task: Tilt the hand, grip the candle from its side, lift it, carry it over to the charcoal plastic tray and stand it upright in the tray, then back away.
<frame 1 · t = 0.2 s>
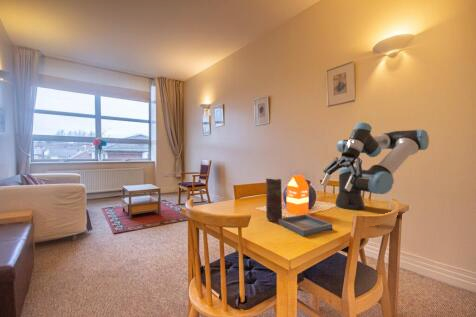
hand: (334, 187, 106), 16 cm above the table, tool tilted 35°, fingers open, 13 cm apart
orange juice: (297, 213, 119), on the table
candle: (273, 220, 108), on the table
tray: (304, 226, 98), on the table
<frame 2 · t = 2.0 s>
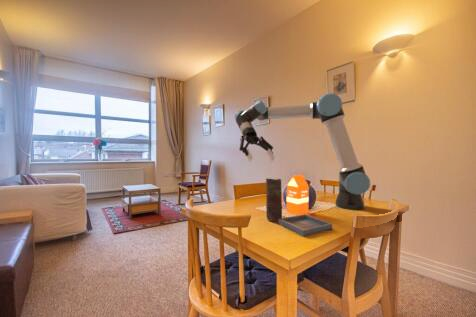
hand: (262, 159, 116), 28 cm above the table, tool tilted 45°, fingers open, 13 cm apart
nothing on the table moved.
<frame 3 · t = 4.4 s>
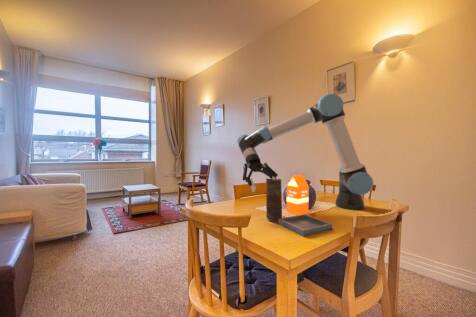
hand: (266, 189, 111), 14 cm above the table, tool tilted 45°, fingers open, 13 cm apart
nothing on the table moved.
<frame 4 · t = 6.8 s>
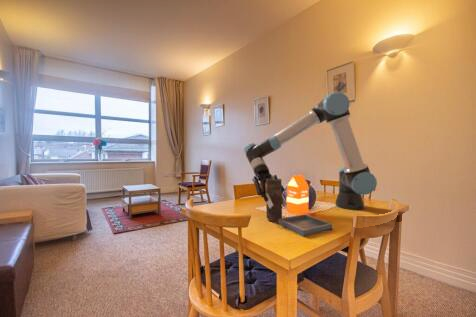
hand: (278, 205, 104), 8 cm above the table, tool tilted 45°, fingers closed on candle, 7 cm apart
candle: (273, 220, 108), on the table, touching gripper
everything else where it was.
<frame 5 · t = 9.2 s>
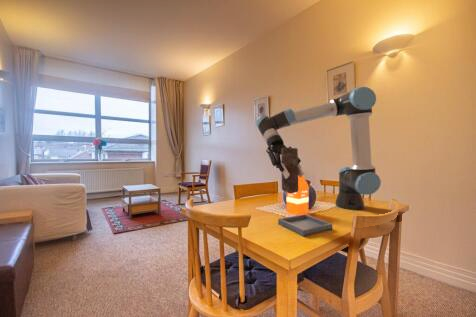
hand: (295, 176, 98), 22 cm above the table, tool tilted 45°, fingers closed on candle, 7 cm apart
candle: (289, 192, 101), point 14 cm above the table, touching gripper
everything else where it was.
when the fingers open (10 cm above the table, at t = 11.9 s): candle drops 1 cm, resting on tray.
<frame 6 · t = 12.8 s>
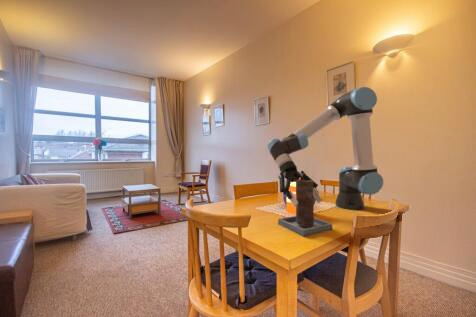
hand: (308, 203, 95), 11 cm above the table, tool tilted 45°, fingers open, 13 cm apart
candle: (304, 225, 98), point 1 cm above the table, touching tray
everything else where it was.
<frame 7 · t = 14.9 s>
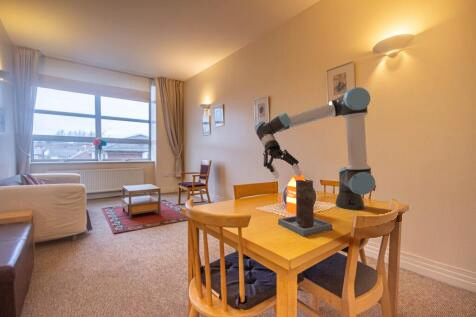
hand: (289, 176, 106), 21 cm above the table, tool tilted 45°, fingers open, 13 cm apart
nothing on the table moved.
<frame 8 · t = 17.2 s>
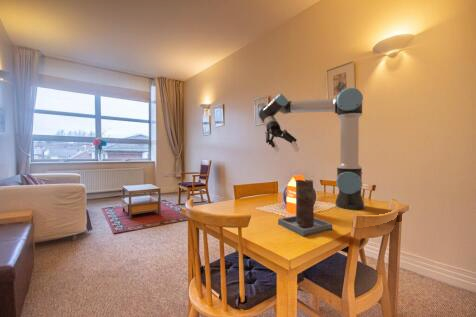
hand: (288, 150, 122), 33 cm above the table, tool tilted 45°, fingers open, 13 cm apart
nothing on the table moved.
at the end: candle inside the target area on the tray (0.2 cm from its centre), point 0.6 cm above the tray's base; candle tilted 0°; the gripper is holding nothing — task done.
